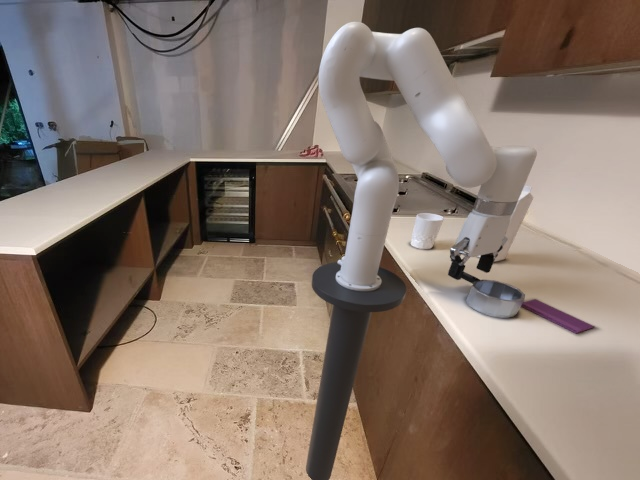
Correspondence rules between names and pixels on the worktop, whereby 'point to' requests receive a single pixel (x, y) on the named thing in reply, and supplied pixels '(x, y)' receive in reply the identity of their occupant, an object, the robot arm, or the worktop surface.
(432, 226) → the white cup
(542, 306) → the purple flat block
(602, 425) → the worktop surface
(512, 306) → the pan
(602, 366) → the worktop surface
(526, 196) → the milk
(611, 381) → the worktop surface
